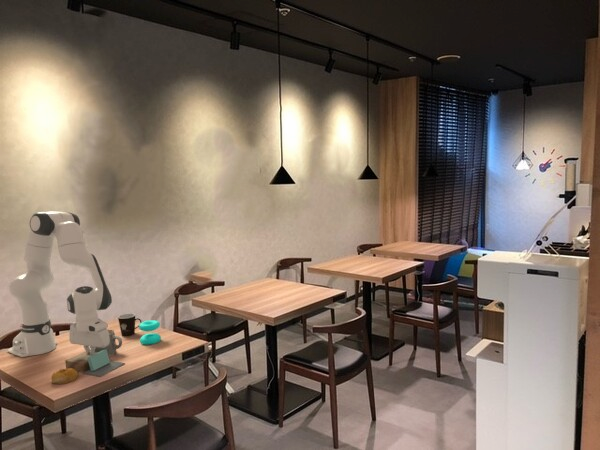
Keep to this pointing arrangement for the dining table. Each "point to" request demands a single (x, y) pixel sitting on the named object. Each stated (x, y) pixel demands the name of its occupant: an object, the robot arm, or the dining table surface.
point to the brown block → (79, 362)
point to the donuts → (150, 337)
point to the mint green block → (98, 360)
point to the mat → (104, 369)
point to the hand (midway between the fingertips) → (90, 354)
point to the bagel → (64, 376)
